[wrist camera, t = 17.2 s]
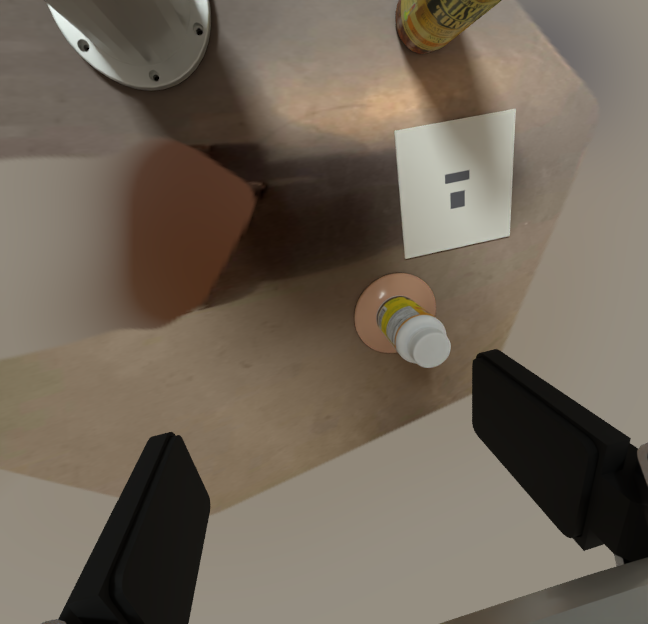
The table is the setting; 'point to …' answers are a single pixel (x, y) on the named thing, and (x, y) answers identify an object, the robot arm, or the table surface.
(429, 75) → the table surface
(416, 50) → the sauce bottle
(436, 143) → the white flat square slab
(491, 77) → the table surface
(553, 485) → the robot arm
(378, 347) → the peach domed disc
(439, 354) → the supplement bottle
